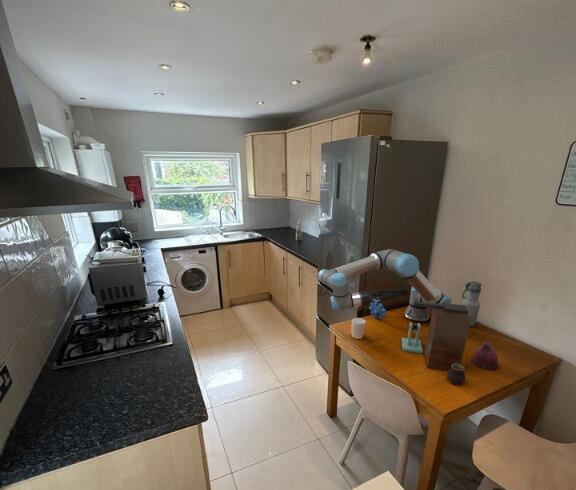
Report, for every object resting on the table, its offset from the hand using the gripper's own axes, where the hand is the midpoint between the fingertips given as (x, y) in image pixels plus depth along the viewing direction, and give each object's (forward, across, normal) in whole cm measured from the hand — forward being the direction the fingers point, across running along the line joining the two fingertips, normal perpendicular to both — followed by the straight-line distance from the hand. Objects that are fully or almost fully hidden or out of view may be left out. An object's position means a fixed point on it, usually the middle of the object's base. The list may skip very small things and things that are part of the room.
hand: (407, 291), depth 154 cm
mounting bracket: (+1, -4, -35) cm, 35 cm away
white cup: (-27, -14, -29) cm, 42 cm away
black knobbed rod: (+3, -9, -27) cm, 29 cm away
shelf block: (+10, +11, -37) cm, 40 cm away
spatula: (+11, +11, -7) cm, 17 cm away
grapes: (-12, -38, -31) cm, 50 cm away
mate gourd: (+11, +26, -38) cm, 47 cm away
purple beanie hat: (+32, +10, -42) cm, 53 cm away
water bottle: (+44, -36, -43) cm, 71 cm away
